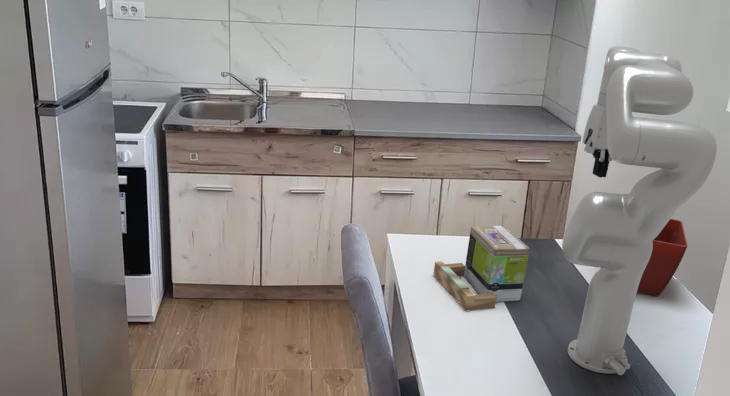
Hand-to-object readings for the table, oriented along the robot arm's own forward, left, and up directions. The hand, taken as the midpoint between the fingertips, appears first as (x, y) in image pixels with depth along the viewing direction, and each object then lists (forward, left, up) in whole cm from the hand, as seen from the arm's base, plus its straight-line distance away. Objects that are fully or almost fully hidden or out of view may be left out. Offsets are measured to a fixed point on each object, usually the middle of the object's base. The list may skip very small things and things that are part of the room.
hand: (599, 175), depth 169 cm
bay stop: (+8, +28, -33) cm, 44 cm away
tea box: (+8, +20, -33) cm, 40 cm away
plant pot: (+4, -22, -33) cm, 40 cm away
